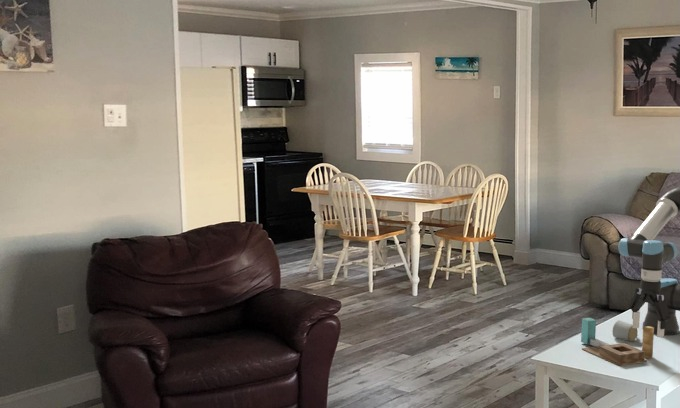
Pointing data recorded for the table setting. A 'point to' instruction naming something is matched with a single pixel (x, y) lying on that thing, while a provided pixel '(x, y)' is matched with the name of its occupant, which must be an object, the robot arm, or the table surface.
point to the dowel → (648, 341)
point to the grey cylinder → (624, 331)
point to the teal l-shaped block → (590, 333)
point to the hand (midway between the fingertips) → (647, 332)
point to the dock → (618, 354)
